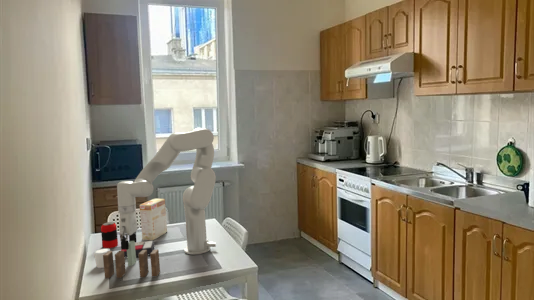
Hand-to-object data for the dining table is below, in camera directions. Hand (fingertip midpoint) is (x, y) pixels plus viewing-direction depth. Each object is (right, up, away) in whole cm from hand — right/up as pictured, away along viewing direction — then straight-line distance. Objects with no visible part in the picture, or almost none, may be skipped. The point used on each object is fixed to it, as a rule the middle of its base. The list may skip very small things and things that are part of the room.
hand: (129, 245), depth 188 cm
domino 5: (+16, -9, -12) cm, 22 cm away
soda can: (-19, -7, +28) cm, 34 cm away
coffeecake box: (0, -4, +42) cm, 42 cm away
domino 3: (+1, -9, +1) cm, 9 cm away
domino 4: (+11, -10, -12) cm, 19 cm away
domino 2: (+1, -10, -12) cm, 15 cm away
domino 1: (-4, -10, -11) cm, 16 cm away
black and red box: (-1, -8, +17) cm, 18 cm away
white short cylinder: (-12, -9, +1) cm, 15 cm away
